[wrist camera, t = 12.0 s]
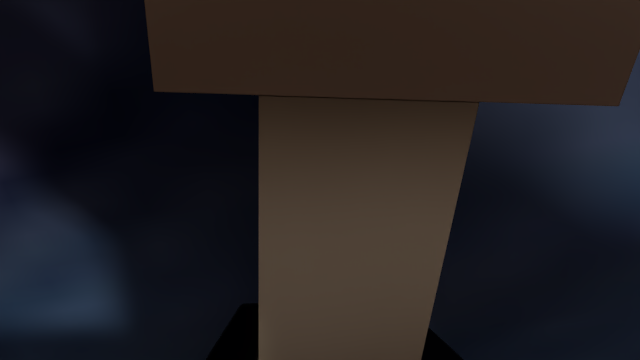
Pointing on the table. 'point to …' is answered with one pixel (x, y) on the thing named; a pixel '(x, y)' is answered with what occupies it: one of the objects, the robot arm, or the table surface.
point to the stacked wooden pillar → (375, 137)
